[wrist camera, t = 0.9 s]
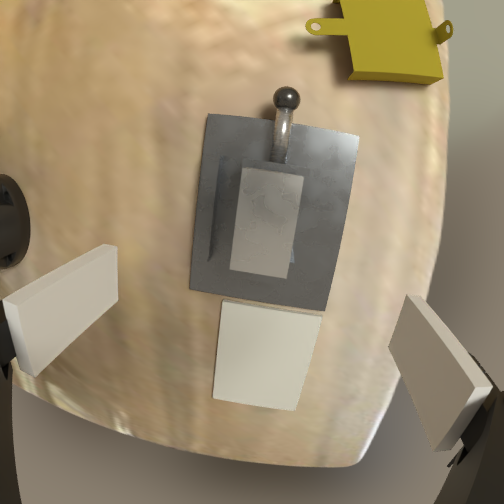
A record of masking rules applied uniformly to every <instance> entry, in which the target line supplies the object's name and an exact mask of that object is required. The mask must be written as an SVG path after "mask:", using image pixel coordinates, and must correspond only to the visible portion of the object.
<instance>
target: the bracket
mask: <svg viewBox="0 0 504 504" xmlns="http://www.w3.org/2000/svg"><path fill="white" fill-rule="evenodd" d="M333 3H340V4H341V8H342V12H343V17H344V19H339V18H314V19H310V20H308V21H307V22H306V26H305V27H306V30H307V31H308V32H309V33H311V34H313V35H347V36H348V41H349V46H350V52H351V57H352V63H353V69H354V71H353V73H352V74H351V75H350V77H349V78H348V79H347V80H372V81H393V82H408V83H419V84H429V85H431V84H433V83H435V82H437V81H439V80H441V79H443V78H444V77H443V72H442V66H441V62H440V57H439V52H438V48H437V44H442V43H443V42H445V41H446V40H448V39H449V38H450V37H451V36H452V35H453V26H452V23H451V22H450V21H449V20H446V21H445V22H443V23H442V24H441V25H440V26H438V27H437V28H432V25H431V21H430V18H429V14H428V11H427V8H426V4H425V1H424V0H333ZM312 23H318V24H320V26H321V29H320V30H318V31H315V30H313V29H312V28H311V24H312ZM447 25H449V26H450V33H447V31H446V26H447Z"/></svg>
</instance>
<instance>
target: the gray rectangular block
mask: <svg viewBox="0 0 504 504" xmlns="http://www.w3.org/2000/svg"><path fill="white" fill-rule="evenodd" d="M303 180H304V177H303V176H301V175H295V174H288V173H282V172H276V171H269V170H262V169H255V168H248V167H246V168H242V176H241V183H240V191H239V198H238V206H237V213H236V221H235V229H234V237H233V245H232V253H231V261H230V270H236V271H242V272H248V273H254V274H260V275H266V276H273V277H279V278H285V279H287V273H288V268H289V263H290V257H291V251H292V246H293V240H294V234H295V229H296V223H297V217H298V211H299V205H300V199H301V193H302V187H303Z"/></svg>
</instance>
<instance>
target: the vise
mask: <svg viewBox="0 0 504 504" xmlns="http://www.w3.org/2000/svg"><path fill="white" fill-rule="evenodd" d="M273 102H274V105H275V106H276V107H277V112H276V119H275V121H274V120H266V119H258V118H250V117H241V116H231V115H220V114H208V119H207V126H206V133H205V141H204V148H203V156H202V164H201V172H200V181H199V190H198V199H197V208H196V218H195V229H194V240H193V252H192V264H191V277H190V289H192V290H197V291H203V292H208V293H214V294H219V295H225V296H230V297H236V298H242V299H248V300H254V301H260V302H266V303H272V304H279V305H285V306H292V307H298V308H305V309H312V310H319V311H325V308H326V304H327V300H328V296H329V292H330V288H331V284H332V280H333V275H334V271H335V267H336V262H337V258H338V253H339V249H340V244H341V239H342V234H343V229H344V224H345V219H346V214H347V209H348V204H349V198H350V192H351V187H352V181H353V175H354V169H355V162H356V156H357V149H358V142H359V136H357V135H352V134H348V133H343V132H338V131H333V130H328V129H323V128H317V127H312V126H306V125H300V124H294V123H292V119H293V112H294V110H295V109H297V107H298V106H299V104H300V95H299V93H298V92H297V91H296V90H295V89H294V88H292V87H288V86H285V87H281V88H279V89H278V90H277V91H276V92H275V93H274V96H273ZM246 167H248V168H255V169H262V170H269V171H276V172H282V173H288V174H295V175H301V176H303V177H304V180H303V187H302V193H301V199H300V205H299V211H298V217H297V223H296V229H295V234H294V240H293V246H292V251H291V257H290V263H289V268H288V273H287V279H285V278H279V277H273V276H266V275H260V274H254V273H248V272H242V271H236V270H230V261H231V253H232V245H233V237H234V229H235V221H236V213H237V206H238V198H239V191H240V183H241V176H242V168H246Z"/></svg>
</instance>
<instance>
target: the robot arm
mask: <svg viewBox="0 0 504 504" xmlns="http://www.w3.org/2000/svg"><path fill="white" fill-rule="evenodd" d="M29 238H30V220H29V213H28V208H27V204H26V201H25V198H24V196H23V193H22V191H21V189H20V188H19V186H18V185H17V183H16V182H15V181H14V180H13V179H12V178H11V177H9V176H7V175H5V174H0V269H6V268H9V267H11V266H13V265H15V264H17V263H19V262H20V261H21V260H22V259H23V257H24V256H25V254H26V251H27V248H28V244H29ZM117 301H118V273H117V246H112V245H107V244H103V245H101V246H99V247H97V248H95V249H93V250H91V251H89V252H87V253H85V254H83V255H81V256H79V257H77V258H75V259H74V260H72V261H70V262H68V263H66V264H64V265H62V266H60V267H59V268H57V269H55V270H53V271H51V272H49V273H48V274H46V275H44V276H42V277H40V278H39V279H37V280H35V281H33V282H31V283H30V284H28V285H26V286H24V287H23V288H21V289H19V290H18V291H16V292H14V293H12V294H11V295H9V296H7V297H6V298H4V299H2V300H1V301H0V504H22V503H21V498H20V492H19V486H18V480H17V474H16V466H15V456H14V445H13V429H12V373H13V369H12V365H11V362H10V361H11V360H12V359H13V358H14V357H16V358H17V361H18V364H19V367H20V370H22V371H23V372H25V373H27V374H29V375H31V376H33V377H36V376H37V375H38V374H39V373H40V372H41V371H42V370H43V369H44V368H45V367H46V366H47V365H48V364H50V363H51V362H52V361H53V360H54V359H55V358H56V357H57V356H58V355H59V354H60V353H61V352H62V351H63V350H64V349H65V348H66V347H68V346H69V345H70V344H71V343H72V342H73V341H74V340H75V339H76V338H77V337H78V336H79V335H80V334H82V333H83V332H84V331H85V330H86V329H87V328H88V327H89V326H90V325H91V324H93V323H94V322H95V321H96V320H97V319H98V318H99V317H100V316H101V315H103V314H104V313H105V312H106V311H107V310H108V309H109V308H110V307H112V306H113V305H114V304H115V303H116V302H117ZM388 347H389V350H390V352H391V354H392V356H393V358H394V360H395V362H396V365H397V367H398V369H399V371H400V373H401V376H402V378H403V380H404V382H405V384H406V387H407V389H408V391H409V394H410V396H411V398H412V401H413V403H414V405H415V408H416V410H417V413H418V415H419V417H420V420H421V422H422V425H423V427H424V430H425V433H426V435H427V437H428V440H429V443H430V446H431V448H432V451H433V452H438V451H446V450H451V449H452V448H453V446H454V445H455V444H456V442H457V441H458V439H459V438H461V440H462V442H463V444H464V446H463V447H462V448H461V449H460V451H459V452H458V453H457V454H456V456H455V457H454V458H453V459H452V460H451V462H450V463H449V464H448V465H447V467H450V466H451V465H452V464H453V466H452V468H451V470H450V472H449V474H448V477H447V479H446V481H445V483H444V485H443V487H442V490H441V491H440V493H439V495H438V497H437V499H436V501H435V502H434V504H504V391H502V392H500V391H499V389H498V387H497V386H496V385H495V383H494V382H493V381H492V379H491V378H490V377H489V375H488V374H487V373H485V370H484V369H483V367H482V366H480V363H479V362H478V361H477V360H476V359H475V357H474V356H472V355H471V354H470V353H469V352H467V351H466V350H465V349H464V347H463V346H462V345H461V344H460V342H459V341H458V340H457V339H456V337H455V336H454V335H453V334H452V332H451V331H450V330H449V329H448V328H447V326H446V325H445V324H444V323H443V322H442V321H441V319H440V318H439V317H438V316H437V314H436V313H435V312H434V311H433V310H432V309H431V307H430V306H429V305H428V304H427V303H426V302H425V301H424V299H423V298H422V297H421V296H416V295H409V294H406V297H405V300H404V304H403V307H402V310H401V313H400V316H399V319H398V321H397V324H396V327H395V330H394V333H393V335H392V338H391V341H390V343H389V346H388Z"/></svg>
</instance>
